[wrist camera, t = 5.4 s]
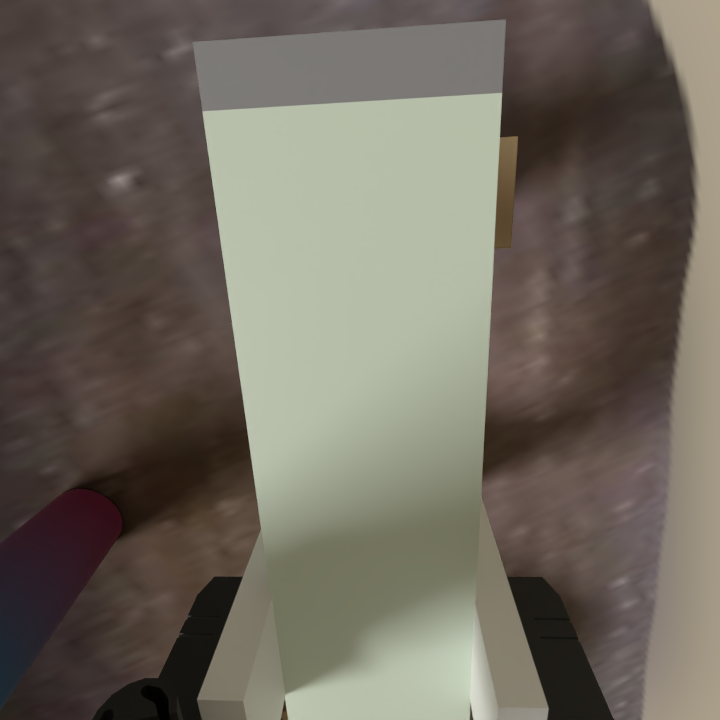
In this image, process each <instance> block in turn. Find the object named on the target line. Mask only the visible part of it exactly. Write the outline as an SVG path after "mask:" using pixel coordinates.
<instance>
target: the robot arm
mask: <svg viewBox="0 0 720 720" xmlns="http://www.w3.org/2000/svg"><path fill="white" fill-rule="evenodd" d="M285 695H286V694H285V687H284V680H283V673H282V666H281V659H280V652H279V645H278V638H277V631H276V623H275V616H274V609H273V602H272V599H271V595H270V588H269V581H268V574H267V567H266V559H265V552H264V545H263V538H262V531H261V530H260V533H259V536H258V538H257V541H256V544H255V546H254V549H253V552H252V554H251V557H250V560H249V562H248V565H247V568H246V570H245V573H244V576H243V577H214V578H213V579H212V580H211V581H210V582H209V583H208V584H207V585H206V586H205V588H204V589H203V590H202V591H201V592H200V593H199V594H198V595H197V597H196V600H195V602H194V604H193V606H192V608H191V610H190V612H189V614H188V619H187V620H186V621H185V623H184V625H183V627H182V629H181V631H180V635H179V638H177V640H176V642H175V644H174V646H173V648H172V650H171V652H170V655H169V657H168V659H167V661H166V663H165V665H164V667H163V669H162V671H161V674H160V676H159V678H144V679H142V680H139V681H136V682H133V683H130V684H128V685H126V686H125V687H123V688H122V689H120V690H119V691H117V692H116V693H114V694H113V695H112V696H111V697H110V698H109V699H108V700H107V701H106V702H105V703H104V704H103V705H102V706H101V707H100V708H99V709H98V710H97V712H96V714H95V716H94V718H93V719H92V720H281V715H282V710H283V705H284V700H285ZM470 702H471V708H472V714H473V720H614V719H613V717H612V715H611V712H610V710H609V708H608V705H607V703H606V701H605V699H604V696H603V694H602V692H601V689H600V687H599V685H598V683H597V680H596V678H595V676H594V673H593V671H592V669H591V667H590V664H589V662H588V660H587V657H586V655H585V653H584V650H583V648H582V646H581V644H580V642H578V637H577V634H576V632H575V630H574V628H573V625H572V623H570V618H569V616H568V614H567V612H566V609H565V607H564V605H563V602H562V600H561V598H560V596H559V595H558V594H557V593H556V592H555V591H554V589H553V588H552V587H551V586H550V585H549V584H548V583H547V582H546V581H545V580H544V579H543V578H542V577H507V576H506V573H505V570H504V567H503V564H502V560H501V557H500V554H499V551H498V548H497V545H496V542H495V539H494V535H493V532H492V529H491V526H490V523H489V520H488V517H487V513H486V510H485V507H484V504H483V501H482V498H481V508H480V528H479V547H478V566H477V585H476V601H475V606H474V626H473V647H472V668H471V688H470Z"/></svg>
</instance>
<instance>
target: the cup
mask: <svg viewBox="0 0 720 720" xmlns="http://www.w3.org/2000/svg"><path fill="white" fill-rule="evenodd" d="M122 524H123V523H122V518H121V515H120V512H119V511H118V509H117V508H116V506H115V505H114V504H113V503H112V502H111V501H110V500H109V499H107V498H106V497H105V496H103V495H101V494H99V493H97V492H94V491H91V490H87V489H72V490H69V491H66V492H64V493H62V494H61V495H60V496H59V497H57V498H56V499H55V500H54V501H52V502H51V503H50V504H49V505H47V506H46V507H45V508H44V509H42V510H41V511H40V512H39V513H37V514H36V515H35V516H34V517H32V518H31V519H30V520H29V521H27V522H26V523H25V524H24V525H22V526H21V527H20V528H19V529H17V530H16V531H15V532H14V533H12V534H11V535H10V536H9V537H7V538H6V539H5V540H4V541H2V542H1V543H0V710H1V709H2V707H3V706H4V704H5V703H6V701H7V700H8V698H9V697H10V695H11V694H12V692H13V691H14V690H15V688H16V687H17V685H18V684H19V682H20V681H21V679H22V678H23V676H24V675H25V673H26V672H27V670H28V669H29V667H30V666H31V665H32V663H33V662H34V660H35V659H36V657H37V656H38V654H39V653H40V651H41V650H42V648H43V647H44V645H45V644H46V642H47V641H48V640H49V638H50V637H51V635H52V634H53V632H54V631H55V629H56V628H57V626H58V625H59V623H60V622H61V620H62V619H63V618H64V616H65V615H66V613H67V612H68V610H69V609H70V607H71V606H72V604H73V603H74V601H75V600H76V598H77V597H78V595H79V594H80V593H81V591H82V590H83V588H84V587H85V585H86V584H87V582H88V581H89V579H90V578H91V576H92V575H93V573H94V572H95V570H96V569H97V568H98V566H99V565H100V563H101V562H102V560H103V559H104V557H105V556H106V554H107V553H108V551H109V550H110V548H111V547H112V546H113V544H114V543H115V541H116V540H117V538H118V537H119V535H120V533H121V531H122Z"/></svg>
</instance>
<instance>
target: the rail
mask: <svg viewBox="0 0 720 720" xmlns="http://www.w3.org/2000/svg"><path fill="white" fill-rule="evenodd" d="M505 28H506V20H493V21H479V22H465V23H451V24H438V25H424V26H410V27H396V28H382V29H368V30H354V31H341V32H327V33H313V34H299V35H285V36H271V37H257V38H243V39H230V40H216V41H202V42H193V47H194V54H195V62H196V69H197V76H198V83H199V90H200V97H201V104H202V111H203V118H204V126H205V133H206V140H207V147H208V154H209V161H210V168H211V175H212V182H213V190H214V197H215V204H216V211H217V218H218V225H219V232H220V239H221V247H222V254H223V261H224V268H225V275H226V282H227V289H228V296H229V303H230V311H231V318H232V325H233V332H234V339H235V346H236V353H237V360H238V367H239V375H240V382H241V389H242V396H243V403H244V410H245V417H246V424H247V431H248V439H249V446H250V453H251V460H252V467H253V474H254V481H255V488H256V495H257V503H258V510H259V517H260V524H261V531H262V538H263V545H264V552H265V559H266V567H267V574H268V581H269V588H270V595H271V599H272V602H273V609H274V616H275V623H276V631H277V638H278V645H279V652H280V659H281V666H282V673H283V680H284V687H285V694H286V695H285V702H286V709H287V716H288V720H470V688H471V668H472V647H473V626H474V606H475V601H476V585H477V566H478V547H479V528H480V508H481V489H482V470H483V451H484V432H485V412H486V393H487V374H488V355H489V336H490V316H491V297H492V278H493V259H494V239H495V220H496V201H497V182H498V163H499V143H500V124H501V105H502V86H503V67H504V47H505Z"/></svg>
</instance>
